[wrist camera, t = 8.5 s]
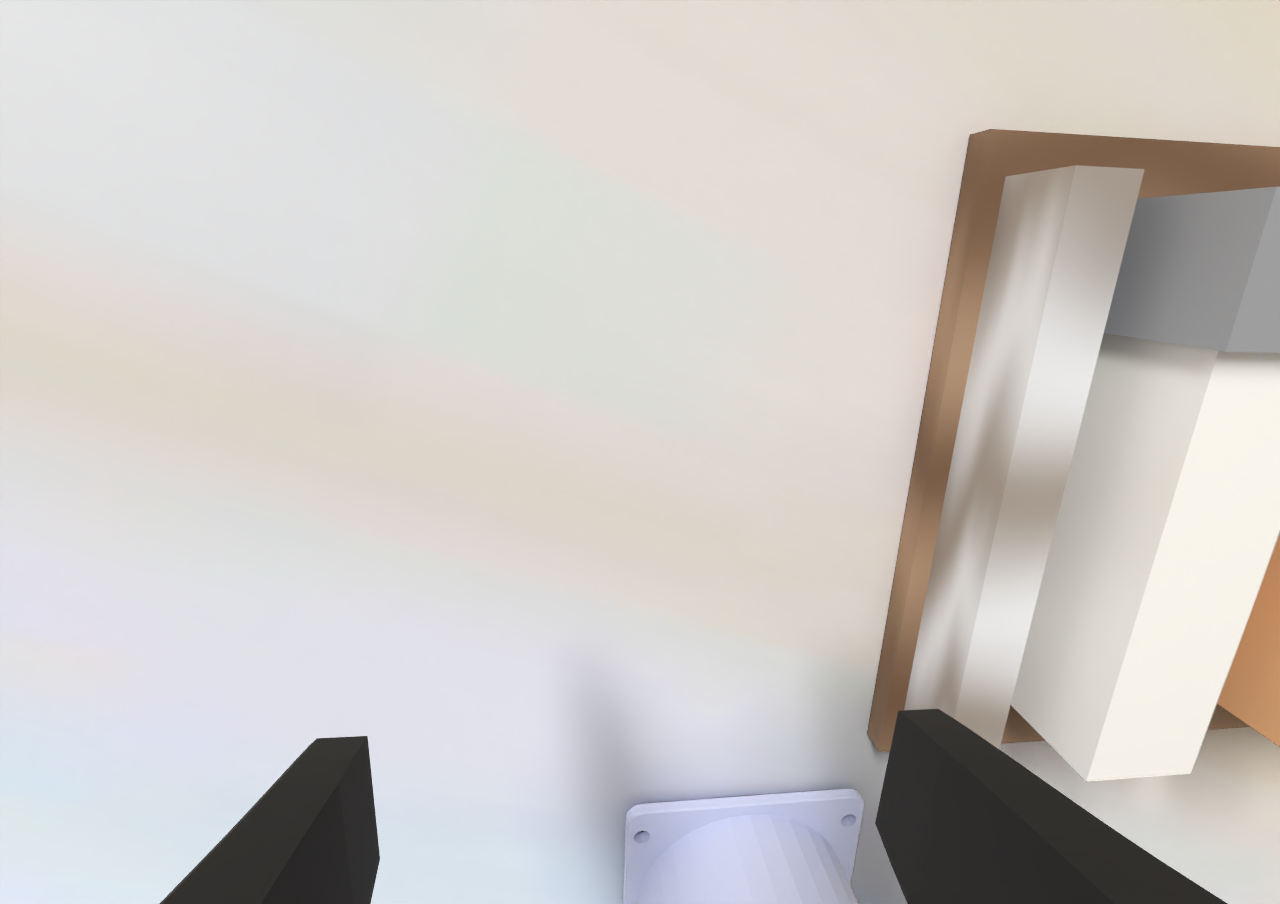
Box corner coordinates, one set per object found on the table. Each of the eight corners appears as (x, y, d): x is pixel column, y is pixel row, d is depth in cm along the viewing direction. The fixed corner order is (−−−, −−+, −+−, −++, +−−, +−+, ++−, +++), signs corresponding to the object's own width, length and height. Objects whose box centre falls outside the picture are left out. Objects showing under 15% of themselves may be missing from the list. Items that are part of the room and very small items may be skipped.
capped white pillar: (1081, 675, 20) (1215, 784, 16) (977, 680, 20) (1087, 794, 16) (1215, 209, 16) (1441, 195, 12) (1086, 202, 16) (1276, 187, 12)
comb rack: (1285, 707, 23) (1386, 771, 20) (867, 733, 21) (915, 809, 18) (1504, 167, 18) (1685, 152, 15) (970, 134, 16) (1060, 110, 13)
